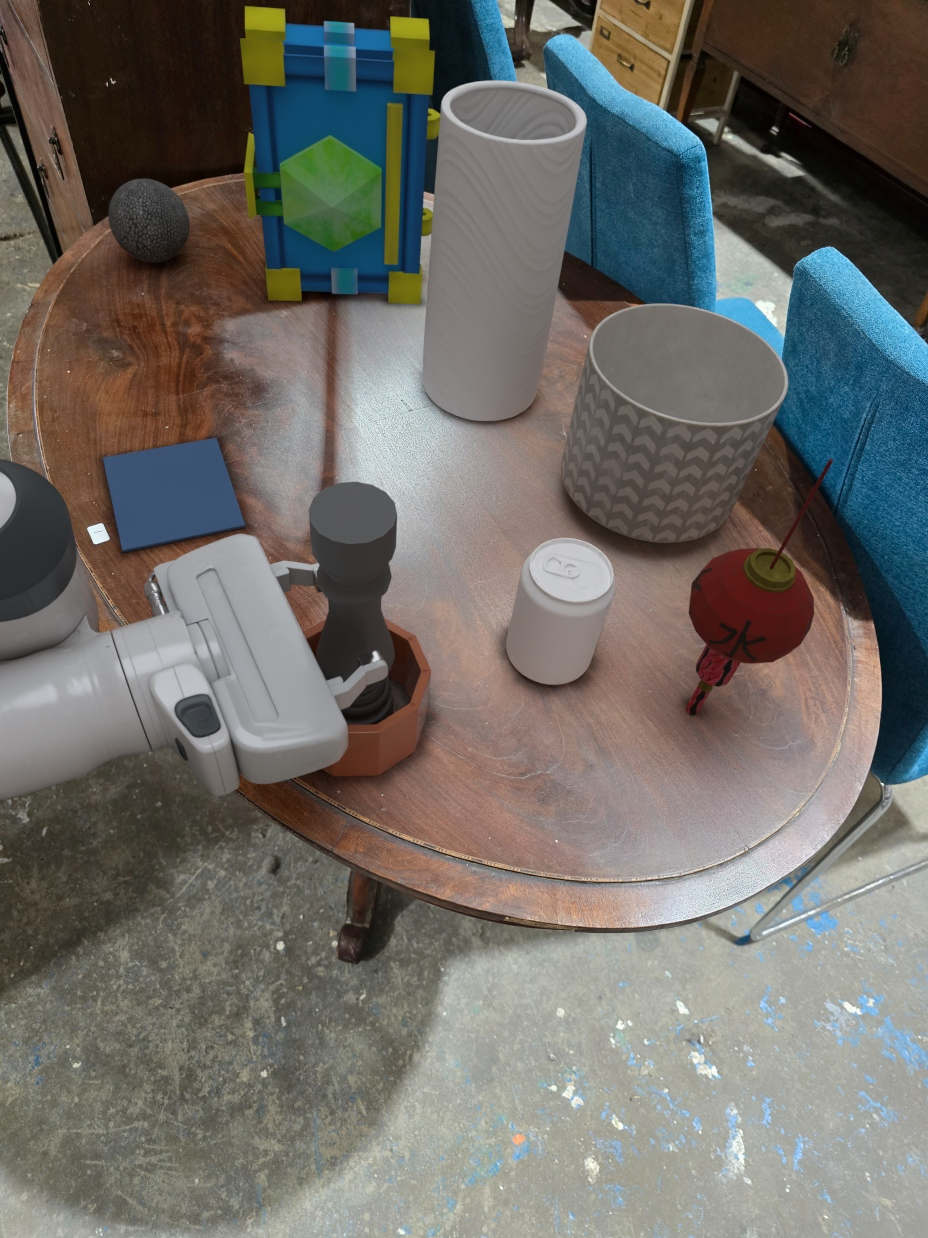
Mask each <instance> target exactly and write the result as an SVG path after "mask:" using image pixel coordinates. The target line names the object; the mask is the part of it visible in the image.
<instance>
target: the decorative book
mask: <svg viewBox="0 0 928 1238" xmlns="http://www.w3.org/2000/svg"><path fill="white" fill-rule="evenodd" d="M389 20H390V21H389V29H388V30H387V29H386V30H385V29H371V28H357V27H356V28H355V23H354V22H345V21H344V22H342V21H328V20H324V21H323V25H314V24H313V25H311V24H299V23H298V24H296V23H287V22H286V9H285V8H277V7H276V8H275V7H262V6H247V5H244V32H245V38H243V37H240V38H239V42H240V43H239V44H240V52H241V53H240V55H241V62H242V63H241V64H242V73H243V83H244V85H248V88H249V89H248V91H249V101H250V111H251V120H252V121H251V122H252V123H251V124H252V132H253V133H251V131H250V132H249V131H248V135H247V143H246V151H245V159H244V169H243V176H244V184H245V185H244V186H245V194H246V195H245V196H246V204H247V213H248V220H251V219H253V218H255V217H257V216H260V217H261V227H262V237H263V247H264V257H265V267H264V268H265V269H264V270H265V280H266V281H265V282H266V289H267V300H268V301H280V302H282V301H283V302H284V301H285V302H302V301H303V299H302V298H303V297H302V295H303V294H302V292H320V293H324V292H325V293H331V294H332V295H333V294H334V295H358V293H359V294H360V293H361V294H364V293H365V294H387V299H388V300H387V301H388V302H387V303H388V304H393V305H395V304H396V305H397V304H398V305H406V304H407V305H421V304H422V291H423V290H422V286H423V268H422V263H421V255H422V254H421V253H422V237H428V236H431V233H432V219H433V210H430V208H427V207H424V199H425V198H424V197H425V178H426V160H427V159H426V158H427V142H428V141H429V140H435V139H437V138H439V127H440V114H441V113H440V112H438V111H436V110H435V109H434V108H429V102H430V96H433V92H434V75H435V74H434V73H435V54H436V51H435V50H430V41H431V40H430V24H429V23H430V21H429V18H418V17H405V16H390V17H389Z"/></svg>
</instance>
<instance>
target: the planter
mask: <svg viewBox="0 0 928 1238" xmlns="http://www.w3.org/2000/svg"><path fill="white" fill-rule="evenodd" d="M585 354H586V355H585V358H584V359H585V360H584V362H583V367H582V371H581V376H580V380H579V385H578V389H577V393H576V396H575V397H576V398H575V402H574V406H573V410H572V414H571V418H570V422H569V428H568V432H567V437H566V439H565V440H566V441H565V444H564V448H563V452H562V457H561V462H560V474H561V480H562V483H563V486H564V488H565V490H566V492H567V494H568V495H569V497H570V498H571V500H572V502H574V504H575V505H576V506H577V507H578V508H579V509H580V510H581V511H582V512H583V513H584V514H585V515H587V516H588V517H589V518H591V519H592V520H593V521H594V522H596V523H598V524H600V525H601V526H603V527H604V528H607V529H608V530H610V531H613V532H615V533H617V534H619V535H623V536H625V537H628V538H632V539H635V540H640V541H643V542H649V543H661V544H674V543H684V542H691V541H693V540H698V539H700V538H703V537H705V536H707V535H710V534H711V533H714V531H716V530H718V529H719V528H720V527H721V526H722V525H723V524H725V522H726V521H727V520H728V519H729V517H730V516H731V514H732V512H733V509H734V507H735V505H736V503H737V501H738V500H739V497H740V494H741V492H742V490H743V488H744V487H745V483H746V482H747V480H748V478H749V475H750V473H751V471H752V469H753V467H754V465H755V462H756V461H757V459H758V455H759V454H760V452H761V450H762V447H763V446H764V443H765V441H766V439H767V437H768V434H769V432H770V430H771V428H772V426H773V423H774V422H775V419H776V417H777V415H778V413H779V411H780V408H781V407H782V404H783V402H784V399H785V398H786V396H787V393H788V389H789V377H788V371H787V368H786V365H785V363H784V361H783V360H782V357H780V355H779V354H778V353H777V351H776V349H774V347H772V345H771V344H770V343H769V342H768V341H766V339H764V338H763V337H762V336H760V335H759V334H758V333H757V332H755V331H754V330H752V329H750V328H749V327H747V326H745V325H743V324H742V323H741V322H738V321H737V320H734V319H733V318H730V317H727V316H725V315H723V314H720V313H717V312H714V311H711V310H708V309H704V308H700V307H695V306H691V305H686V304H685V305H684V304H675V303H647V304H638V305H633V306H629V307H626V308H623V309H620V310H618V311H615V312H613V313H612V314H610V315H608V316H607V317H605V318H604V319H603V320H601V321H600V322H599V323H598V324H597V325H596V327H594V329H593V331H592V333H591V336H590V339H589V342H588V346H587V351H586V353H585Z"/></svg>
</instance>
